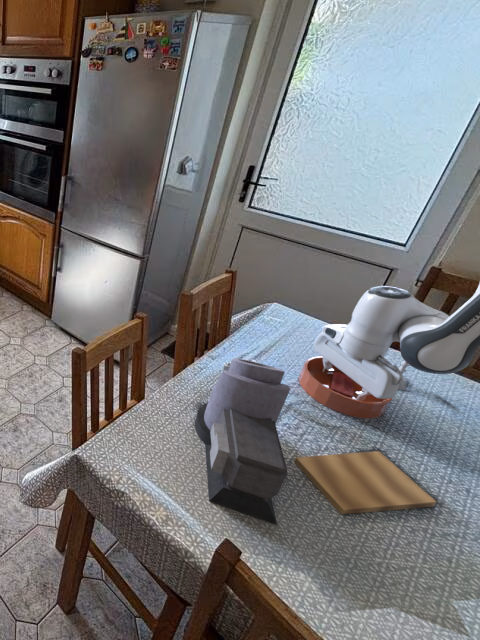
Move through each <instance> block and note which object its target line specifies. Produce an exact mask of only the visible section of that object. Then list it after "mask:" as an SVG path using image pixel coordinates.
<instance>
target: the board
mask: <svg viewBox="0 0 480 640" xmlns="http://www.w3.org/2000/svg"><path fill="white" fill-rule="evenodd" d="M293 463H294V464H295V465H296V467H298V468H299V470H300V471H301V472H302V473H303V474H304V475H305V476H306V477H307V478H308V480H309V481H310V482H311V483H312V484H313V485H314V486H315V487H316V488H317V490H318V491H319V492H320V493H321V494H322V495H323V496H324V498H325V499H327V501H328V502H329V503H330V504H331V505H332V506H333V507H334V509H335V510H336V511H337V512H338V513H339V514H340V515H350V514H352V515H353V514H362V513H363V514H364V513H374V512H376V513H377V512H385V511H398V510H399V511H401V510H407V509H408V510H410V509H421V508H432V507H435V505H436V504H437V501H436V500H435V499H434V497H432V496H431V495H429V493H428V492H426V491H425V490H424V489H423V488H422V487H420V486H419V484H417V483H416V482H415V481H414V480H413V479H412V478H410V476H409V475H407V474H406V473H405V472H404V471H403V470H401V469H400V468H399V467H398V466H397V465H396V464H395V463H394V462H392V461H391V460H390V459H389V458H387V456H385V455H384V454H383V452H381V451H379V450H375V451H363V452H361V451H360V452H351V453H350V452H348V453H336V454H323V455H310V456H296V457H295V459H294V460H293Z"/></svg>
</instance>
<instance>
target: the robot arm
mask: <svg viewBox="0 0 480 640" xmlns="http://www.w3.org/2000/svg"><path fill="white" fill-rule="evenodd" d="M395 342H397V343H399V346H400V345H401V348H400V356H401V357H402V359H403V361H404V360H405V361H406V362H407V363H408V364H409V367H412V368H414V369H416V370H418V371H422V372H424V373H428V374H433V375H449V374H454V373H458V372H461V371H462V370H465V368H467V367H468V366H469V365H470V363H472V360H473V358H474V355H475V353H476V351H477V349H478V348H479V347H480V282H479V283H478V286H477V288H476V290H475V292H474V293H473V295H472V296H471V297H470V298H469V299H468V300H467V301H466V302H465V303H464V304H462V306H460V307H459V308H458V309H457V310H456V311H454V312H453V313H452V314H451V315H449V314H448V313H446V312H444V311H443V310H440V309H437V308H433V307H431V306H430V305H427V304H425V303H423V302H421V301H419V299H417V298H416V297H415V296H414V295H413V294H412V293H411V292H409V291H408V290H405V289H402V288H399V287H394V286H388V285H380V286H374V287H370V288H369V289H368V290H366V291H365V292H364V293H363V294H362V296H361V297H360V298H359V300H358V302H357V304H356V305H355V307H354V309H353V311H352V312H351V320H350V322H348V323H347V324H344V323H343V324H342V323H336V324H326V325H323V326H322V329H321V332H319V333H318V335H317V336H316V338H315V339H314V342H313V350H314V352H316V353H317V354H319V355H320V356H323V357H324V358H323V365H324V369H323V371H322V372H324V373H325V374H326V375H332V374H333V372H334V369H332V364H333V365H334V366H336V367H337V368H338V369H340V370H341V371H342V372H343V373H345V374H346V375H347V376H349V377H350V378H351V379H353V380H354V381H355V382H356V383H358V384H359V385H360V386H362V387H363V388H362V391H364V392H362V391H361V392H355V393H354V395H353V397H355V398H356V399H357V400H359V401H363V400H365V398H366V396H368V395H371V394H372V395H373V396H375V397H376V398H378V399H389V398H392V399H393V398H395V396H396V394H397V392H398V390H399V389H398V387H399V384H400V382H401V380H402V378H403V377H404V376H403V374H401V372H400V371H399V368H398V366H397V365H395V364H393V363H391V362H390V361H389V360H388V359H387V358H385V356H386V355H387V353H388V351H389V349H390V347H391V346H392V345H393V343H395ZM400 343H401V344H400Z"/></svg>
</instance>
